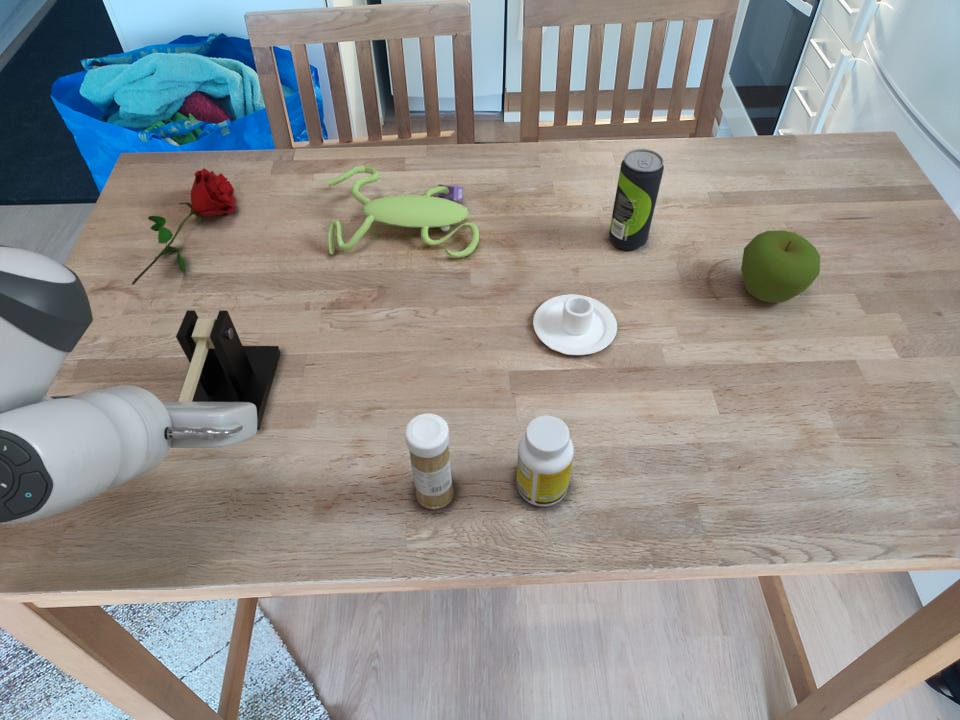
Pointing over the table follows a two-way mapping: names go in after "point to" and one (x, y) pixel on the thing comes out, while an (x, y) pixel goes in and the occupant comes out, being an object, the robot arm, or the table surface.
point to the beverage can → (635, 198)
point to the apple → (779, 265)
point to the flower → (197, 209)
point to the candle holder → (575, 324)
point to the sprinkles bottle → (430, 460)
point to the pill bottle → (544, 461)
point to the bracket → (230, 365)
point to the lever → (197, 357)
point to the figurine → (407, 212)
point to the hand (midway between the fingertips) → (186, 410)
